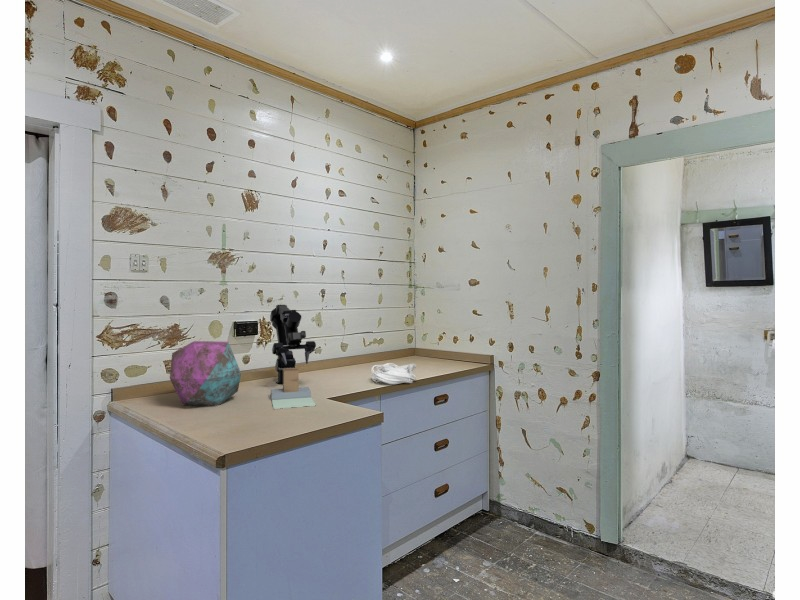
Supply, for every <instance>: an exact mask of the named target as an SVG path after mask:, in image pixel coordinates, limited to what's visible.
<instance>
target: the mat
mask: <svg viewBox="0 0 800 600" xmlns="http://www.w3.org/2000/svg"><path fill="white" fill-rule="evenodd" d="M271 403H272V408H273V410H281V409H280V408H283V409H292V408H291V407H297V408H304V407H303V406H310V407H316V406H315V405H316V403H315V401H314V400H313V398H312V396H311V397H309V398H295V399H280V400H271Z"/></svg>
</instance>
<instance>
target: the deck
mask: <svg viewBox="0 0 800 600" xmlns="http://www.w3.org/2000/svg"><path fill="white" fill-rule="evenodd" d="M309 397H311V398H312V390H311V388H310V387H309V386H301V387H300V386H299V392H284V391H283V387H282V388H271V389H270V399H272V400H280V399H295V398H309ZM272 400H271V401H272Z"/></svg>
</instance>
